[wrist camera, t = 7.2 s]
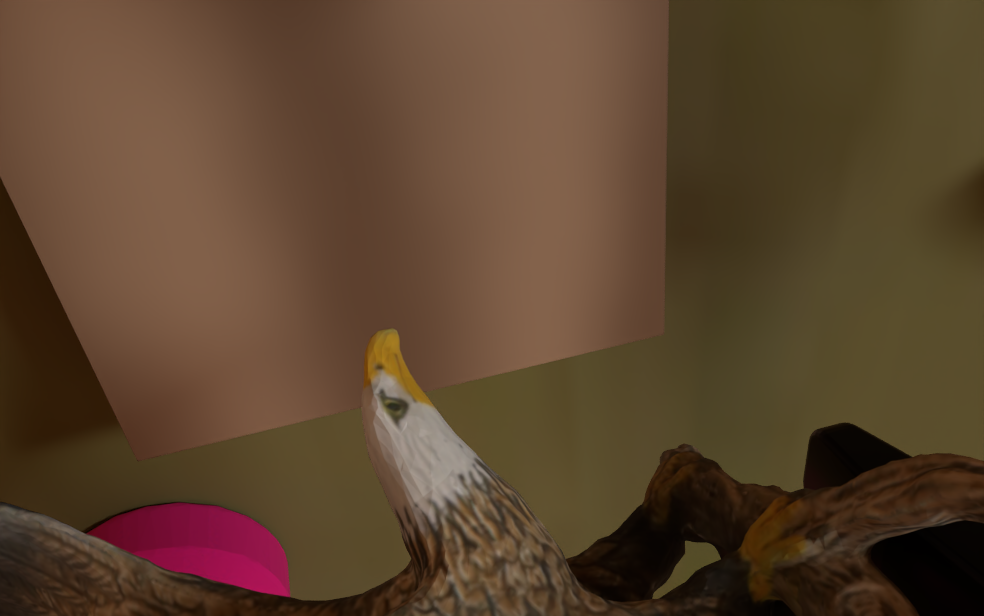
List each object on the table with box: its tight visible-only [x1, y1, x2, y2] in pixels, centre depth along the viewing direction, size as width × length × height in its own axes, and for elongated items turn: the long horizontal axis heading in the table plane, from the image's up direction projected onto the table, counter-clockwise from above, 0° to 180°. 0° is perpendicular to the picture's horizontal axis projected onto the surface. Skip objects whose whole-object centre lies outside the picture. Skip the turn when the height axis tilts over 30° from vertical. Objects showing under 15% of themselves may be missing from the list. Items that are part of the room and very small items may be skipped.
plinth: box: [0, 0, 669, 461], centre depth 18 cm, size 12×12×3 cm
